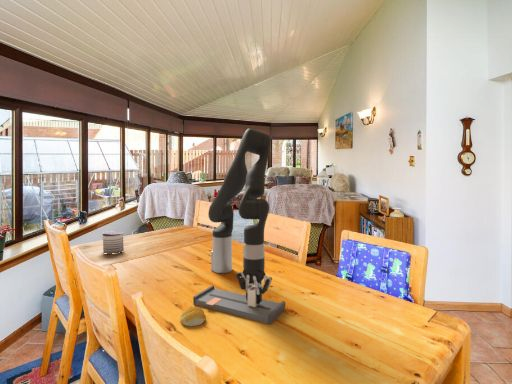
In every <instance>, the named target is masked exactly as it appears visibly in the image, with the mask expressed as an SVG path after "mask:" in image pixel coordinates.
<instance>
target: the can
mask: <svg viewBox="0 0 512 384" xmlns="http://www.w3.org/2000/svg"><path fill="white" fill-rule="evenodd" d="M102 248H103V249H102V251H103V254H104V253H107V254H112V253H119V252H122V251H124V252H125V249H124V232H123V231H116V230H113V231H103V232H102ZM122 253H123V252H122Z"/></svg>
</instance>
